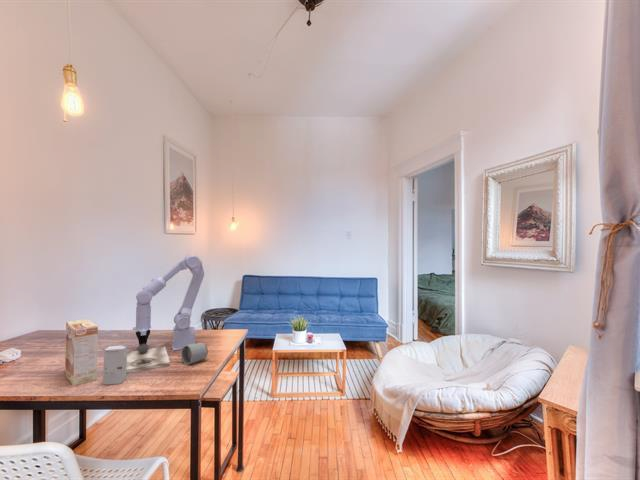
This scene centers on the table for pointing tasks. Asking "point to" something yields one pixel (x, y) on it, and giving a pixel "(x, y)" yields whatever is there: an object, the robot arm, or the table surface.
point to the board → (147, 359)
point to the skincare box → (115, 364)
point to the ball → (142, 348)
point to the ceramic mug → (194, 353)
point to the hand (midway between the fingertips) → (142, 347)
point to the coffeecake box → (81, 351)
